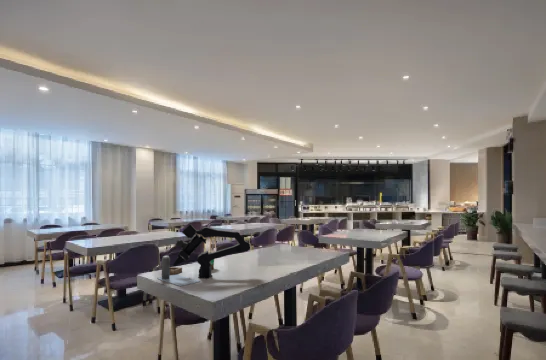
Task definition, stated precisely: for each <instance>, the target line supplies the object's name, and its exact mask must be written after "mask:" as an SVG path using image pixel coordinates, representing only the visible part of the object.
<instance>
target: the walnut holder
mask: <svg viewBox="0 0 546 360" xmlns="http://www.w3.org/2000/svg"><path fill="white" fill-rule="evenodd" d="M181 272H183V267H180V266H178V267H177V266H170V275H179V274H180V273H181Z"/></svg>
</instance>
